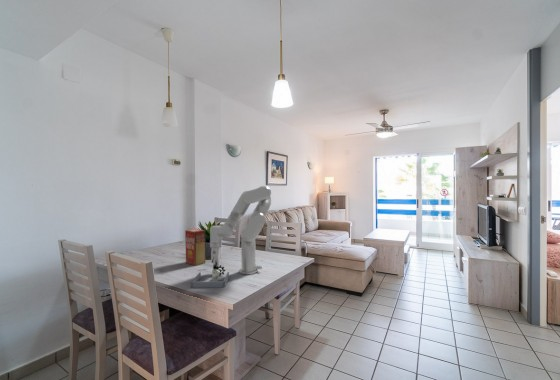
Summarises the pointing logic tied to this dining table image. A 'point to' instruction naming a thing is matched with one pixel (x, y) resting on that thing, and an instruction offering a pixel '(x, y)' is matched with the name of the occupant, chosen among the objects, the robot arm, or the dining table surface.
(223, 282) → the tray frame
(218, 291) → the dining table surface
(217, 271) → the valve
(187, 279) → the dining table surface
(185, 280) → the dining table surface
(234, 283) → the dining table surface
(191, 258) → the food packaging
